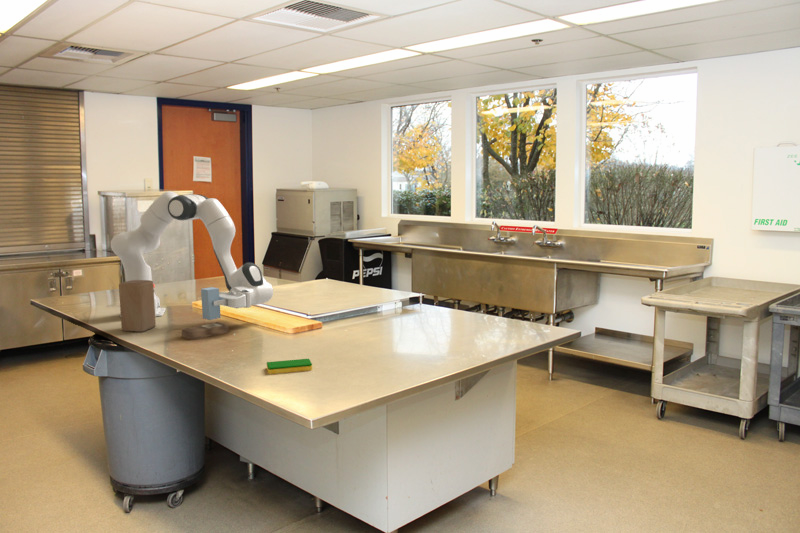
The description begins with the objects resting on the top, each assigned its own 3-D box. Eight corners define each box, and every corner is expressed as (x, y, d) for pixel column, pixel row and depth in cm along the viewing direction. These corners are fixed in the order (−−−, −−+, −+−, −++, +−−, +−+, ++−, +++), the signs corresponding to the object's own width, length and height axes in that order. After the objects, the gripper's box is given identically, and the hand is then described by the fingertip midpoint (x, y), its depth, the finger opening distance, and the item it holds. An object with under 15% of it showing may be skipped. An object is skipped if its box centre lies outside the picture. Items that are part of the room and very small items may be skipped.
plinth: (217, 329, 263) (217, 322, 263) (228, 332, 258) (228, 324, 258) (181, 336, 252) (181, 329, 251) (192, 340, 246) (192, 332, 246)
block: (142, 332, 259) (139, 283, 257) (120, 331, 261) (117, 283, 259) (156, 327, 269) (153, 280, 266) (135, 326, 271) (132, 279, 268)
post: (213, 316, 260) (212, 287, 258) (220, 317, 256) (218, 288, 255) (202, 318, 256) (200, 288, 254) (209, 320, 253) (207, 290, 251)
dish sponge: (312, 371, 206) (312, 364, 206) (268, 375, 202) (268, 367, 202) (309, 365, 213) (309, 358, 212) (266, 369, 209) (266, 361, 209)
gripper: (223, 287, 271) (194, 291, 261) (252, 292, 258) (222, 297, 248) (224, 301, 272) (195, 307, 262) (253, 307, 259) (223, 313, 248)
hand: (208, 302), depth 255 cm, fingers closed on post, 5 cm apart
